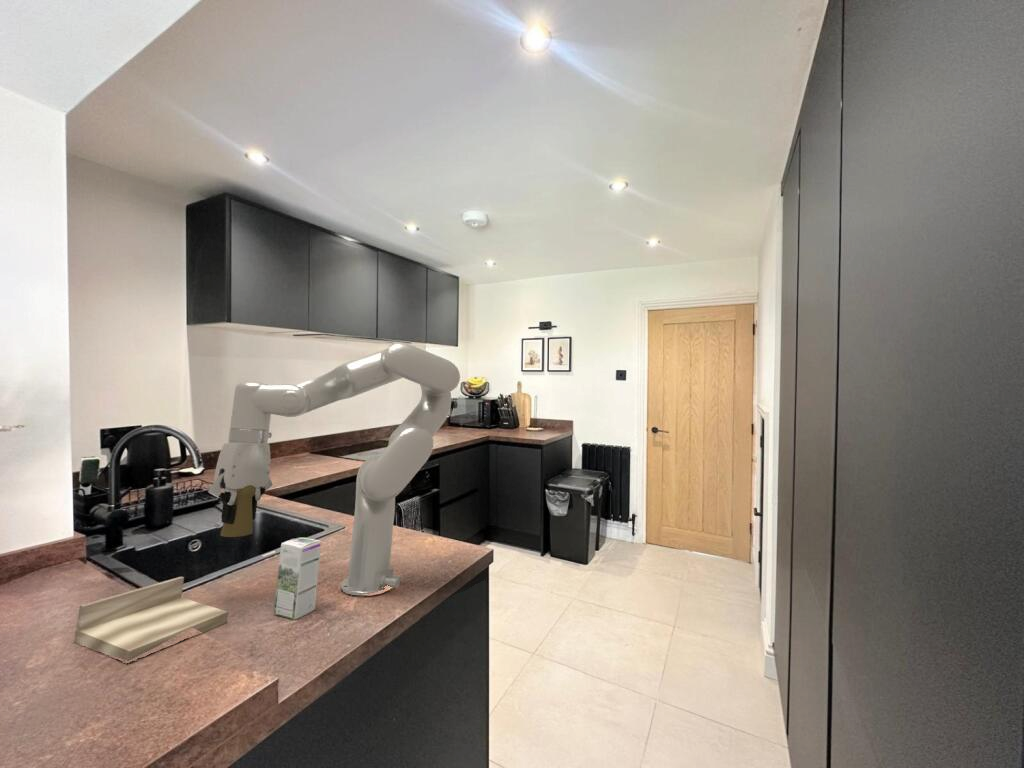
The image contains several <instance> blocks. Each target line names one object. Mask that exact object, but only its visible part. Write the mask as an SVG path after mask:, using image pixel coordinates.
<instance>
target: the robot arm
mask: <svg viewBox="0 0 1024 768" xmlns="http://www.w3.org/2000/svg"><path fill="white" fill-rule="evenodd" d="M402 378H403V379H405V380H408V381H410V382H412V383H415V384H417V385H419V386H420V389H421V396H420V397H421V398H420V399H419V402H418V404H416V406H415V407H414V408H413V410H412V411H411V413H410V414H408V416H407V417H406V418H405V419H404V420H403V421H402V422H401V423H400V424H399V425H398V426H397V428H396V429H394V431H392V433H391V434H390V437H389V439H388V445H387V447H386V448H385V449H384V450H383V451H382V452H381V453H380V455H379V456H378V455H376V456H373V457H372V456H371V457H370V458H367V459H366V460H364V462H363V463H362V464H361V465H360V467H359V468H358V471H357V476H356V483H355V503H354V504H355V505H354V507H355V508H354V515H353V516H354V517H353V523H352V524H353V526H352V536H351V546H350V555H349V556H350V557H349V566H348V567H349V568H348V576H347V577H346V578H344V579H343V580H342V581H341V583H340V590H341V589H342V590H343V591H344V592H346V593H348V594H353V595H362V594H370V593H375V592H378V591H381V590H384V589H385V588H384V587H385V586H387V585H388V586H390V587H393V588H395V589H397V588H398V587H400V584H401V583H400V582H401V580H402V576H401V575H398V574H396V575H395V574H394V567H393V566H391V555H392V545H393V543H392V542H393V533H394V522H395V509H396V497H397V496H398V495H399V494H400V493H402V491H404V489H405V488H406V487H407V485H408V484H409V483H410V481H412V480H413V478H414V477H415V476H416V474H418V472H419V471H420V470H421V468H422V467H423V466H424V465H425V464H426V463H427V461H428V460H429V458H430V457H431V454H432V453H433V450H434V439H433V437H434V436H435V434H437V432H438V430H439V429H440V428H441V427H442V425H443V424H444V423H445V421H446V420H447V418H448V416H449V414H450V412H451V408H452V394H451V392H452V391H454V390H455V389H456V388H457V387H458V386H459V384H460V380H461V373H460V371H459V368H458V367H457V366H456V365H455V363H453V362H452V361H450V360H448V359H447V358H444V357H441V356H438V355H436V354H434V353H432V352H429V351H427V350H424V349H422V348H419V347H417V346H415V345H413V344H409V343H405V342H396V343H392V345H389V346H388V347H387V348H385V349H383V350H379V351H376V352H374V353H371V354H368V355H365V356H362V357H359V358H356V359H354V360H349V361H348V362H345V363H342V364H340V365H338V366H337V367H335V368H333V369H332V370H331V371H329V372H327V373H325V374H323V375H321V376H318V377H316V378H312V379H309V380H307V381H304V382H300V383H298V384H267V383H263V382H262V383H261V382H252V381H242V382H238V383H237V384H236V386H235V388H234V394H233V402H232V410H231V417H230V425H229V431H228V441H227V442H224V443H223V445H222V448H221V450H220V452H219V455H218V458H217V462H216V466H215V471H214V477H213V484H212V485H211V486H210V488H209V489H208V494H210V495H212V496H213V497H215V498H216V499H218V500H219V503H220V504H222V510H221V516H220V517H221V523H227V524H233V523H234V520H235V514H236V505H235V504H234V502H235V499H236V495H237V490H240V489H243V488H244V487H246V486H249V485H252V486H254V487H256V492H255V495H254V496H253V497H252V517H253V520H255V519H256V513H257V507H258V502H259V501H260V500H261V497H262V496H263V495H264V494H265V493H266V491H267V490H269V489H270V488H271V487H273V482H272V480H271V477H270V473H271V448H270V443H268V441H269V439H271V438H272V436H273V435H272V432H270V425H271V416H272V415H274V416H275V415H276V416H281V417H286V418H296V417H298V416H302V415H304V414H306V413H309V412H312V411H314V410H318V409H320V408H322V407H325V406H328V405H330V404H334V403H335V402H338V401H343V400H347V399H350V398H353V397H356V396H359V395H361V394H364V393H366V392H369V391H372V390H374V389H377V388H379V387H382V386H385V385H388V384H389V383H392V382H394V381H397V380H400V379H402ZM221 489H223V491H222V490H221ZM229 492H230V495H229ZM347 578H348V579H347ZM382 587H383V588H382ZM344 592H343V593H344ZM346 593H345V594H346ZM348 594H347V595H348Z"/></svg>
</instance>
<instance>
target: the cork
mask: <svg viewBox="0 0 1024 768" xmlns="http://www.w3.org/2000/svg"><path fill="white" fill-rule="evenodd" d="M255 492H256V487H254V486H252V485H249V486H246V487H244V488H243V489H240V490H237V495H236V499H235V502H234V504H235V505H236V514H235V520H234V523H233V524H227V523H223V524H222V527H221V531H220V536H221V537H224V538H225V537H226V538H239V537H245V536H249V535H252V534H253V533H254V529H253V526H254V525H253V523H254V522H253V517H252V497H253V496H254V495H255ZM229 495H230V492H229Z"/></svg>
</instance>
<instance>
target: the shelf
mask: <svg viewBox="0 0 1024 768" xmlns="http://www.w3.org/2000/svg"><path fill="white" fill-rule="evenodd" d="M184 579H185V577H184V576H178V577H175V578H171V579H168V580H164V581H160V582H157V583H154V584H153V583H152V584H150V585H145V586H142V587H139V588H135V589H133V590H130V591H125V592H123V593H119V594H115V595H112V596H108V597H106V598H101V599H97V600H95V601H91V602H87V603H84V604H83V603H82V604H80V605H79V610H78V614H77V621H76V627H75V633H74V634H75V635H74V639H73V640H74V641H73V642H74V643H75V644H77V645H80V646H82V647H84V646H86V647H85V648H87V647H89V648H92V649H95V650H97V651H100V652H102V653H106V654H109V655H112V656H115V657H118V658H121V659H124V660H127V661H129V660H131V659H133V658H135V657H137V656H139V655H141V654H143V653H145V652H147V651H149V650H151V649H153V648H155V647H157V646H159V645H161V644H162V643H164V642H166V641H168V640H169V639H171V638H173V637H175V636H176V635H178V634H180V633H181V632H183V631H185V630H187V629H189V628H194V629H196V630H198V631H200V632H202V633H201V634H204V633H205V632H208V631H210V630H213V629H215V628H217V627H219V626H222V625H224V624H227V623H228V617H229V611H227V610H223V609H221V608H217V607H214V606H211V605H207V604H204V603H200V602H197V601H194V600H191V599H188V598H183V597H182V594H183V588H184V581H185V580H184ZM89 648H88V649H89Z"/></svg>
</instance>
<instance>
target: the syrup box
mask: <svg viewBox="0 0 1024 768" xmlns="http://www.w3.org/2000/svg"><path fill="white" fill-rule="evenodd" d="M321 551H322V540H318V539H313V538H308V537H300V536H299V537H296V538H291V539H289V540H286V541H284V542H281V544H280V553H279V561H278V570H277V571H278V572H277V580H276V581H277V582H276V591H275V599H274V600H275V601H274V608H273V609H274V610H273V615H275V616H279V617H282V618H286V619H289V620H293V621H295V620H298V619H299V618H302V617H303V616H305V615H307V614H310V613H311V612H313V611H315V609H316V603H317V602H316V601H317V589H318V578H319V569H320V561H321V560H320V559H321Z"/></svg>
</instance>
